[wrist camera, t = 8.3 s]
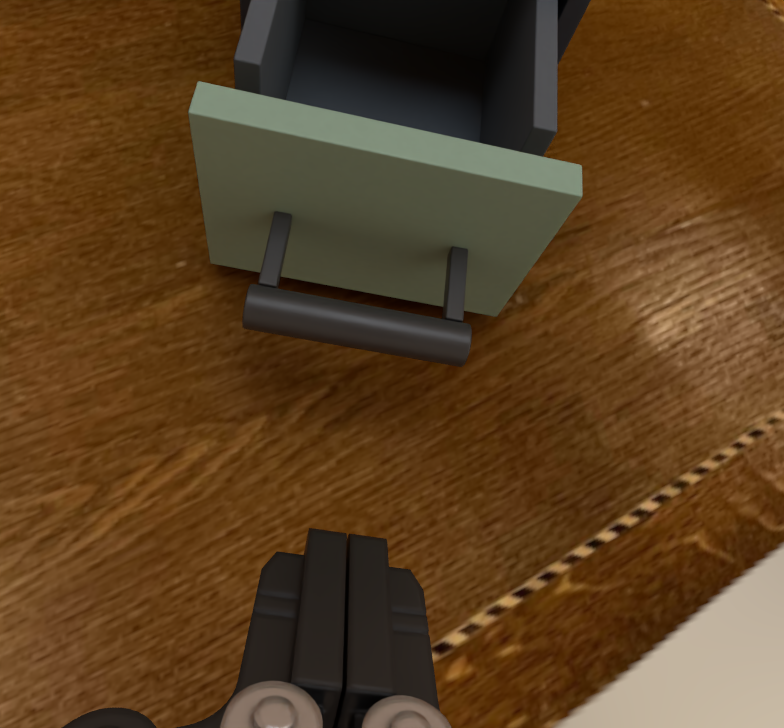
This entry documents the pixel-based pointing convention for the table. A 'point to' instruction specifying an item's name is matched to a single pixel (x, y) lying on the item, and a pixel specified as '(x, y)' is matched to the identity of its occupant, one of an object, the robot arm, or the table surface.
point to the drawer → (384, 164)
